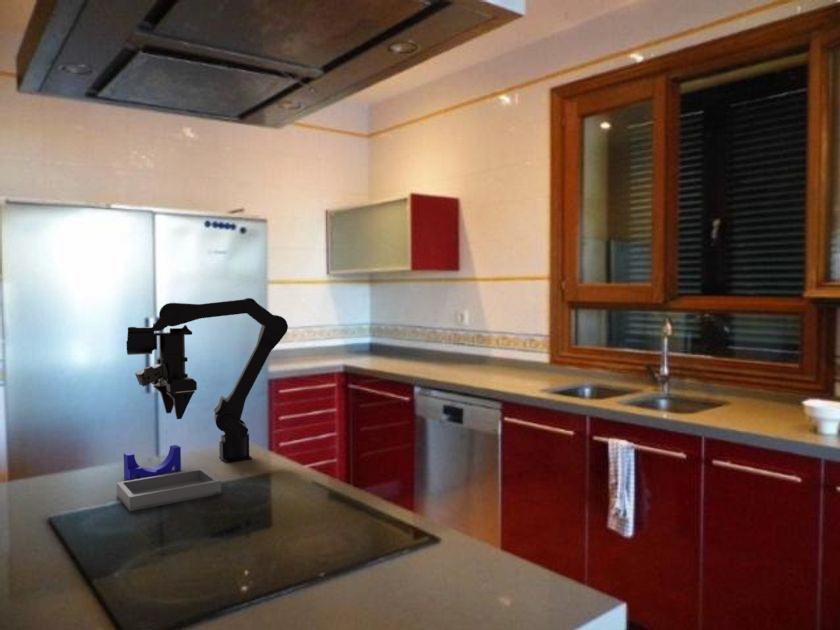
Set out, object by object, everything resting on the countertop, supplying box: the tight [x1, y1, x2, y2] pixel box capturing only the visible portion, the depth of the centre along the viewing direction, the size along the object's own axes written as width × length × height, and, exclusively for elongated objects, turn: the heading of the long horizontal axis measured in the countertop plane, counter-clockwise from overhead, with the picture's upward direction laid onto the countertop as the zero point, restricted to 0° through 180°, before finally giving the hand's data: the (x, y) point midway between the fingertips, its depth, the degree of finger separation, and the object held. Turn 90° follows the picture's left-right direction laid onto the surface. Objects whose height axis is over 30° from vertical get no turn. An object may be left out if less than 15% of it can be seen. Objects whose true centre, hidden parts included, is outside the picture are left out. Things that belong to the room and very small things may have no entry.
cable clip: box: [123, 444, 182, 481], centre depth 151 cm, size 12×4×6 cm, turn 130°
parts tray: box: [116, 467, 222, 512], centre depth 136 cm, size 18×12×3 cm, turn 126°
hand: (173, 416), depth 161 cm, fingers open, 9 cm apart
